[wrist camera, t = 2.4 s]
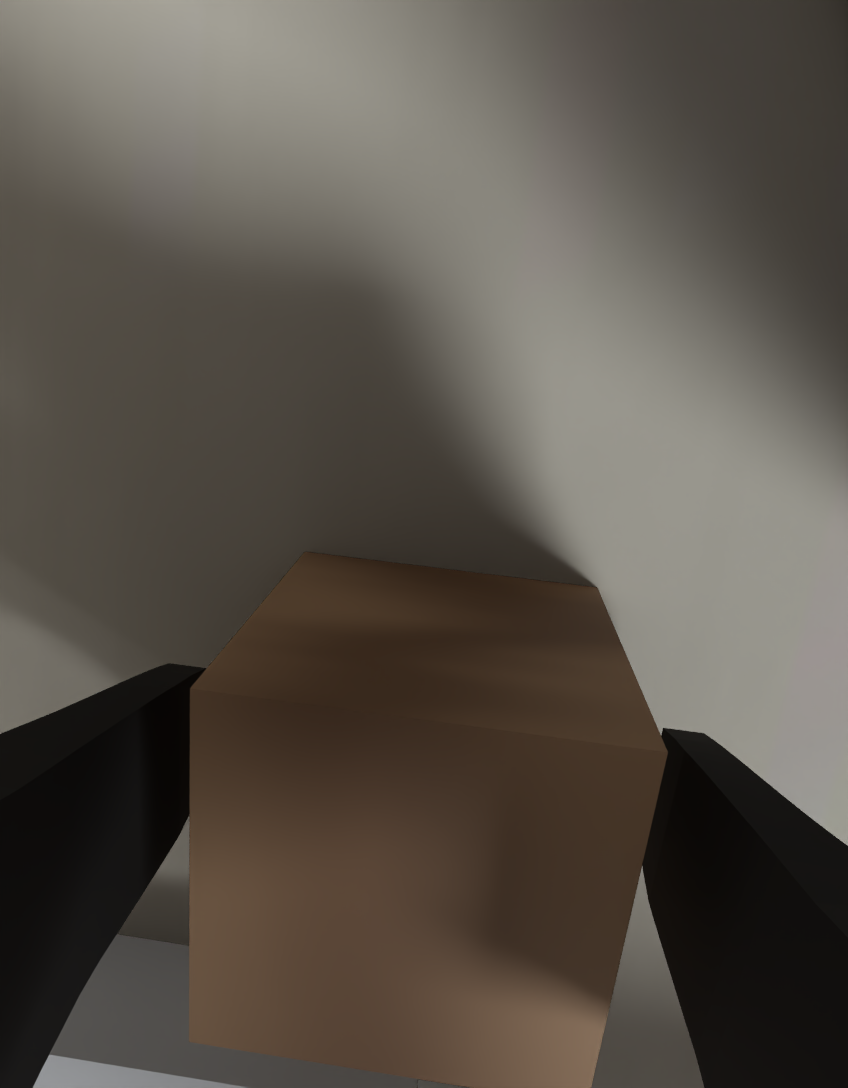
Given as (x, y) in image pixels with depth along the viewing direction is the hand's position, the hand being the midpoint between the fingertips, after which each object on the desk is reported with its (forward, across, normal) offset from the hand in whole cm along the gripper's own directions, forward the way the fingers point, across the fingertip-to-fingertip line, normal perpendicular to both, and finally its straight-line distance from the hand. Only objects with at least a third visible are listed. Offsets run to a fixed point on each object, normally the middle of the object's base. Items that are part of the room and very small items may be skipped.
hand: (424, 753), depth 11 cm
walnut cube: (+2, 0, 0) cm, 2 cm away
